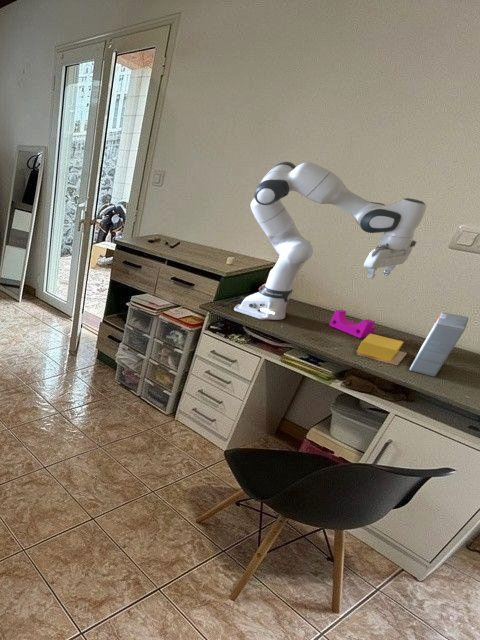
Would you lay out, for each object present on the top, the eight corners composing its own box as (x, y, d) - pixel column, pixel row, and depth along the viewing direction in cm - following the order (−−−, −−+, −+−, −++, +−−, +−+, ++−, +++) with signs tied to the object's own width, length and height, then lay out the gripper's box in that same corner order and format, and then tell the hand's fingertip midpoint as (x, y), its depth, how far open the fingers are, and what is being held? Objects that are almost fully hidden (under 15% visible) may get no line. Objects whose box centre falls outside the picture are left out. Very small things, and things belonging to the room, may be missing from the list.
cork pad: (356, 354, 175) (356, 354, 175) (367, 343, 184) (367, 342, 184) (397, 365, 167) (397, 365, 166) (406, 353, 175) (407, 353, 175)
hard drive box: (414, 357, 172) (441, 311, 162) (440, 363, 167) (470, 317, 157) (408, 370, 163) (436, 323, 153) (435, 377, 158) (466, 329, 148)
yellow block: (361, 341, 174) (396, 350, 167) (370, 333, 180) (403, 341, 173) (356, 352, 177) (390, 361, 169) (364, 343, 183) (397, 352, 175)
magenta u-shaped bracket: (371, 336, 190) (379, 321, 186) (360, 338, 188) (367, 322, 185) (339, 323, 202) (346, 309, 198) (328, 325, 201) (335, 310, 197)
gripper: (385, 247, 163) (369, 281, 170) (419, 241, 168) (402, 275, 176) (368, 243, 168) (352, 277, 175) (401, 238, 174) (385, 271, 181)
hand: (377, 276), depth 176 cm, fingers open, 8 cm apart
